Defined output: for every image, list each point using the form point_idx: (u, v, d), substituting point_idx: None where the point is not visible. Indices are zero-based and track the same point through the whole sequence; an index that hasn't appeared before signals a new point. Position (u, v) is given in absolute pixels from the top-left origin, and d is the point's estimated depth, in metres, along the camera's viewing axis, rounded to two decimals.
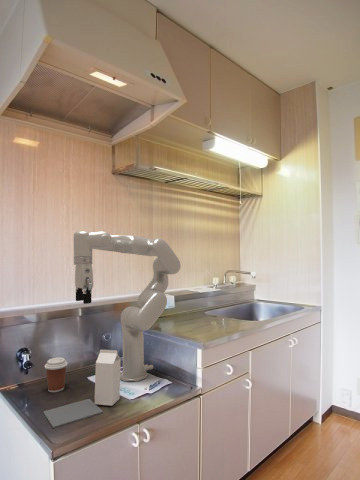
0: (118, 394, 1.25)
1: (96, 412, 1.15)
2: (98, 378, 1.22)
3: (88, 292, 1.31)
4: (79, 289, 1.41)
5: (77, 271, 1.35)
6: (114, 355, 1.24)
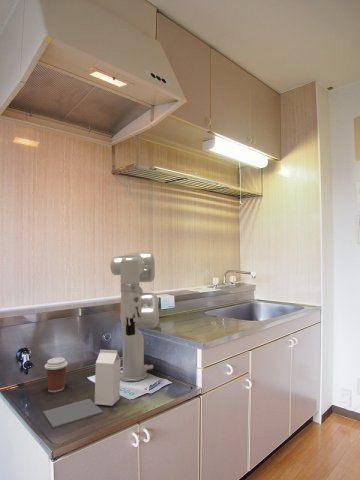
0: (118, 394, 1.25)
1: (96, 412, 1.15)
2: (98, 378, 1.22)
3: (132, 324, 1.29)
4: None
5: (124, 299, 1.29)
6: (114, 355, 1.24)
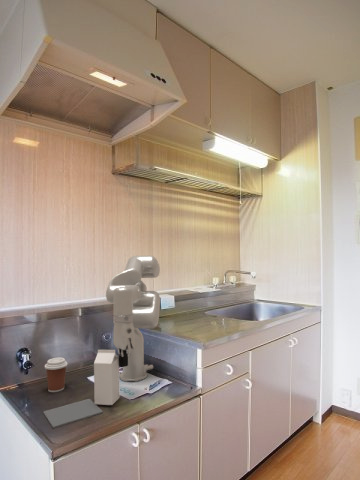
0: (118, 393, 1.25)
1: (96, 412, 1.15)
2: (97, 378, 1.22)
3: (125, 355, 1.27)
4: None
5: (117, 330, 1.27)
6: (112, 355, 1.24)
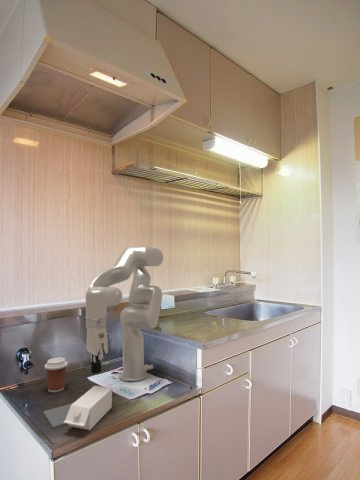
0: (109, 394, 1.17)
1: None
2: None
3: (98, 361, 1.20)
4: None
5: (89, 335, 1.21)
6: (83, 425, 1.02)
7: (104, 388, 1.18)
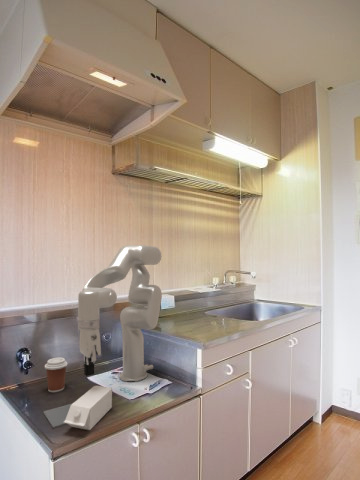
0: (109, 394, 1.17)
1: None
2: None
3: (91, 363, 1.19)
4: None
5: (82, 337, 1.19)
6: (83, 425, 1.02)
7: (104, 388, 1.18)
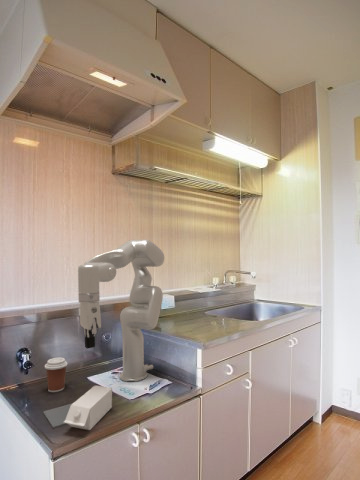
0: (109, 394, 1.17)
1: None
2: None
3: (91, 336, 1.19)
4: None
5: (82, 310, 1.20)
6: (83, 425, 1.02)
7: (104, 388, 1.18)
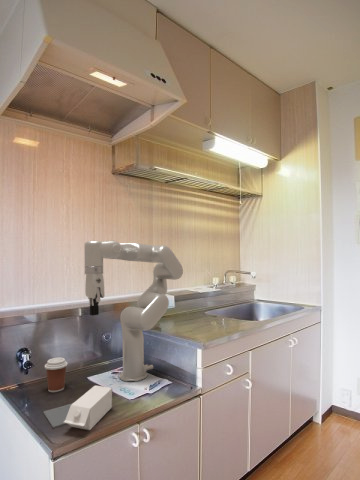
0: (109, 394, 1.17)
1: None
2: None
3: (95, 304, 1.34)
4: None
5: (88, 281, 1.34)
6: (83, 425, 1.02)
7: (104, 388, 1.18)
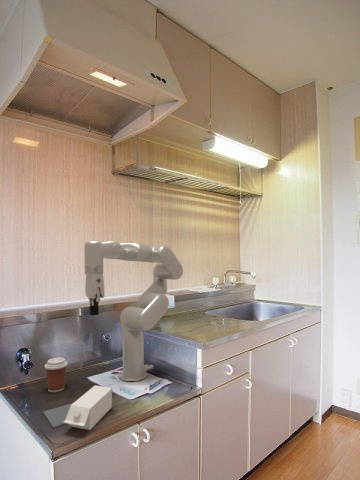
0: (109, 394, 1.17)
1: None
2: None
3: (95, 304, 1.34)
4: None
5: (88, 281, 1.34)
6: (83, 425, 1.02)
7: (104, 388, 1.18)
